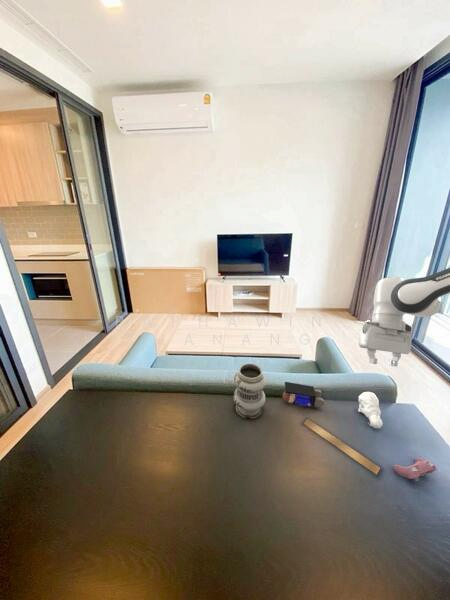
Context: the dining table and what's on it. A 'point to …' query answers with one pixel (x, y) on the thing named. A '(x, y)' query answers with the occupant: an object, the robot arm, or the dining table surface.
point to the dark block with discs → (302, 395)
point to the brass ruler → (343, 447)
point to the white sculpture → (370, 409)
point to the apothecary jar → (249, 390)
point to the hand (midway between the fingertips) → (383, 364)
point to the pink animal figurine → (416, 469)
